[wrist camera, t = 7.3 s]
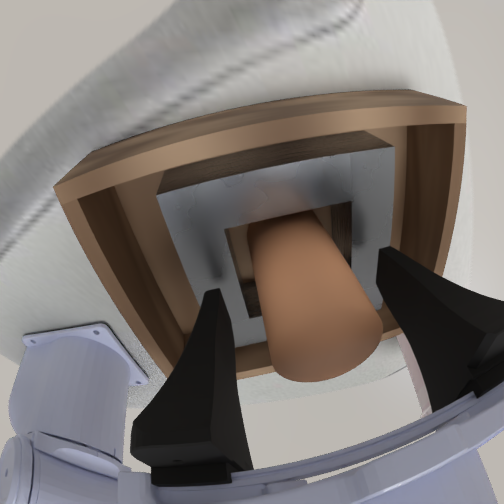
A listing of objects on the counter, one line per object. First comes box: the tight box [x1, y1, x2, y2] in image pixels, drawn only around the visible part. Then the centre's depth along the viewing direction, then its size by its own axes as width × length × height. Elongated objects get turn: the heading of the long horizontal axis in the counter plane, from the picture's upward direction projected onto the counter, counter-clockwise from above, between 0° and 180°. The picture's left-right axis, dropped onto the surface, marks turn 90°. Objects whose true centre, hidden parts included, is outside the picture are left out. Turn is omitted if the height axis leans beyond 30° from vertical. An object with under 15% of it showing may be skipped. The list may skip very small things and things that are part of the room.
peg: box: [247, 209, 383, 382], centre depth 13 cm, size 4×4×8 cm
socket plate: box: [156, 131, 395, 348], centre depth 15 cm, size 10×10×3 cm
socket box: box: [53, 90, 467, 380], centre depth 15 cm, size 17×14×4 cm
